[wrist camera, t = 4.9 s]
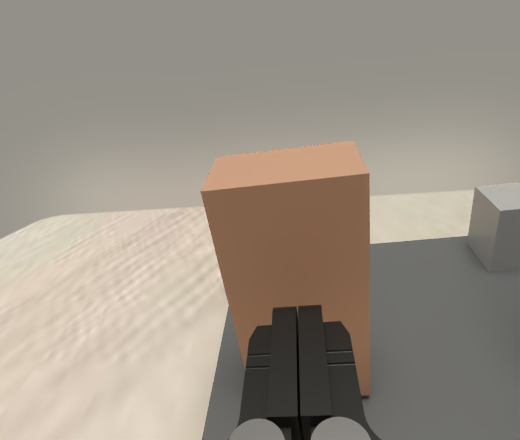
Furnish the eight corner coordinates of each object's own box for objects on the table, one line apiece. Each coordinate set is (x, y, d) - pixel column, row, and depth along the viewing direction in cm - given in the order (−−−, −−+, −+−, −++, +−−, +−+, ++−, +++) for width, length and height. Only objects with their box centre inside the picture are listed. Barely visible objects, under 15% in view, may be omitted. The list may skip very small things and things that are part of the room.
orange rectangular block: (252, 399, 16) (200, 191, 11) (257, 344, 19) (216, 156, 14) (370, 395, 16) (369, 173, 11) (358, 339, 18) (353, 140, 13)
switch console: (208, 491, 15) (169, 399, 12) (243, 277, 28) (228, 205, 25) (843, 491, 13) (984, 371, 10) (570, 252, 25) (597, 167, 22)
